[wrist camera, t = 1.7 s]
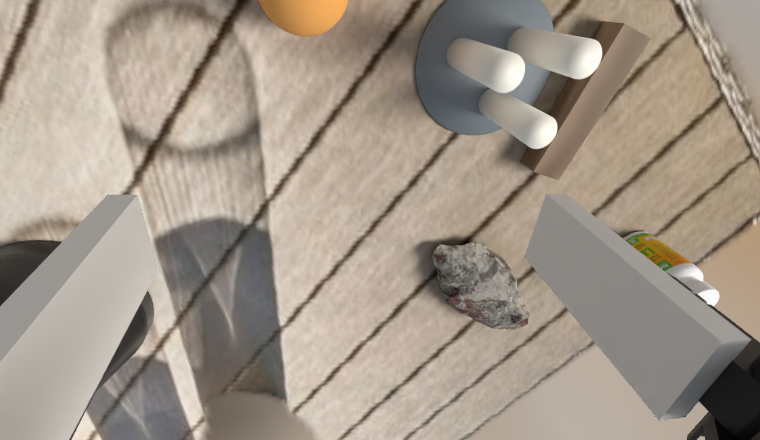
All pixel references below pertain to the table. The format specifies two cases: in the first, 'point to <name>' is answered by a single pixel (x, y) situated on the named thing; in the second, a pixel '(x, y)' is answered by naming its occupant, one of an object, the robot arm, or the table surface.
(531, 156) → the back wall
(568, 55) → the pin
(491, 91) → the pin
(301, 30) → the ball
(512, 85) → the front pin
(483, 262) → the mineral rock
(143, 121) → the table surface
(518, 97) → the pin disc
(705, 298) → the supplement bottle
